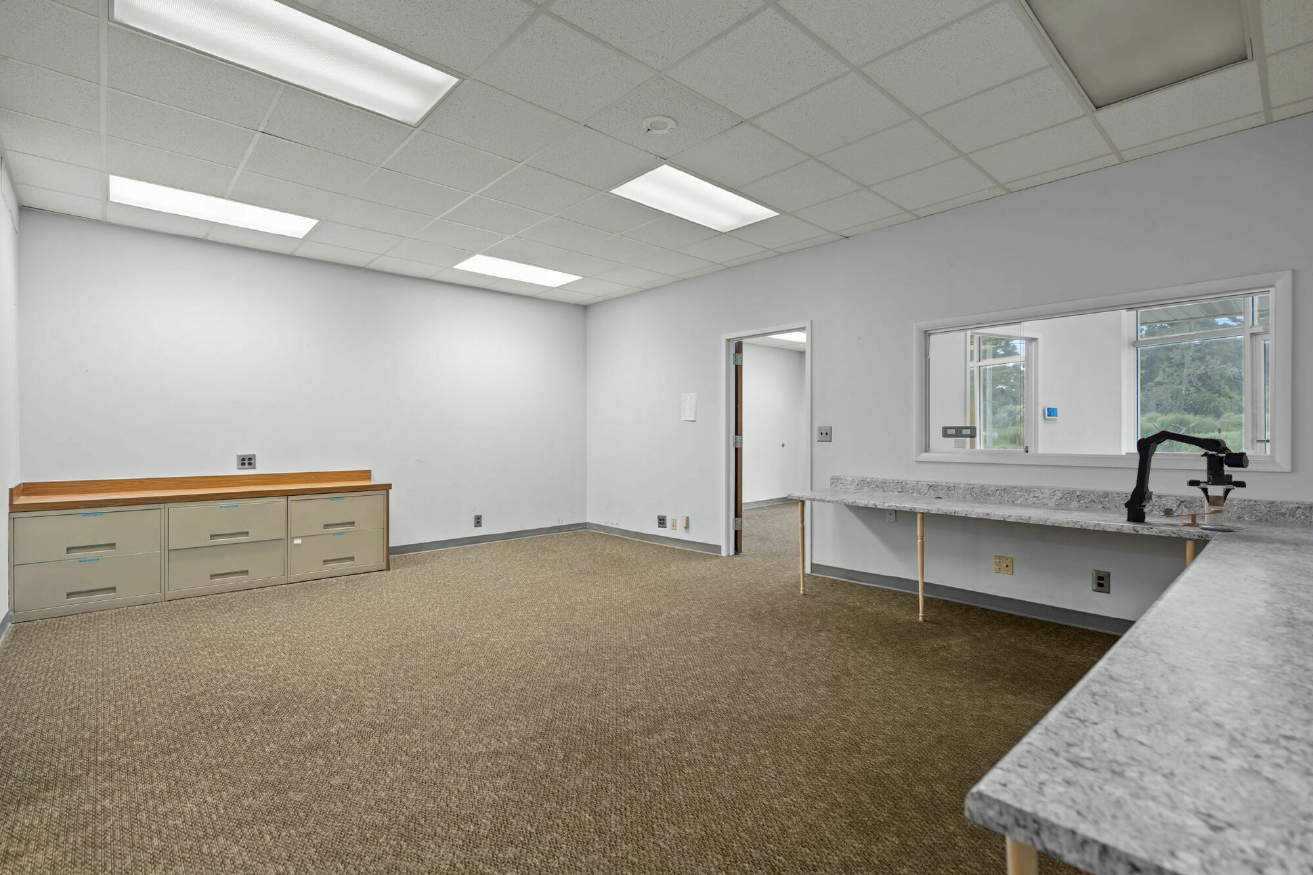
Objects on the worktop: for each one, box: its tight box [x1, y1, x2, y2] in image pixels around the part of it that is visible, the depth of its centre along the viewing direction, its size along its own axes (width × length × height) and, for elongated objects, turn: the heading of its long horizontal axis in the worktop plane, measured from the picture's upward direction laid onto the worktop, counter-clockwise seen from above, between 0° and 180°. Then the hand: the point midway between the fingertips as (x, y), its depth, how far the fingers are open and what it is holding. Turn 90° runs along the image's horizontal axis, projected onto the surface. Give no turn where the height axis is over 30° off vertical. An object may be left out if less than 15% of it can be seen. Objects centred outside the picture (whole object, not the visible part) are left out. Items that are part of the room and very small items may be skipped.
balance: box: [1159, 506, 1230, 527], centre depth 286 cm, size 24×6×8 cm, turn 57°
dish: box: [1199, 524, 1235, 532], centre depth 273 cm, size 11×11×1 cm
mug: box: [1204, 497, 1235, 526], centre depth 287 cm, size 10×7×12 cm, turn 54°
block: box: [1208, 494, 1225, 508], centre depth 273 cm, size 4×4×4 cm
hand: (1215, 503), depth 273 cm, fingers closed on block, 4 cm apart
